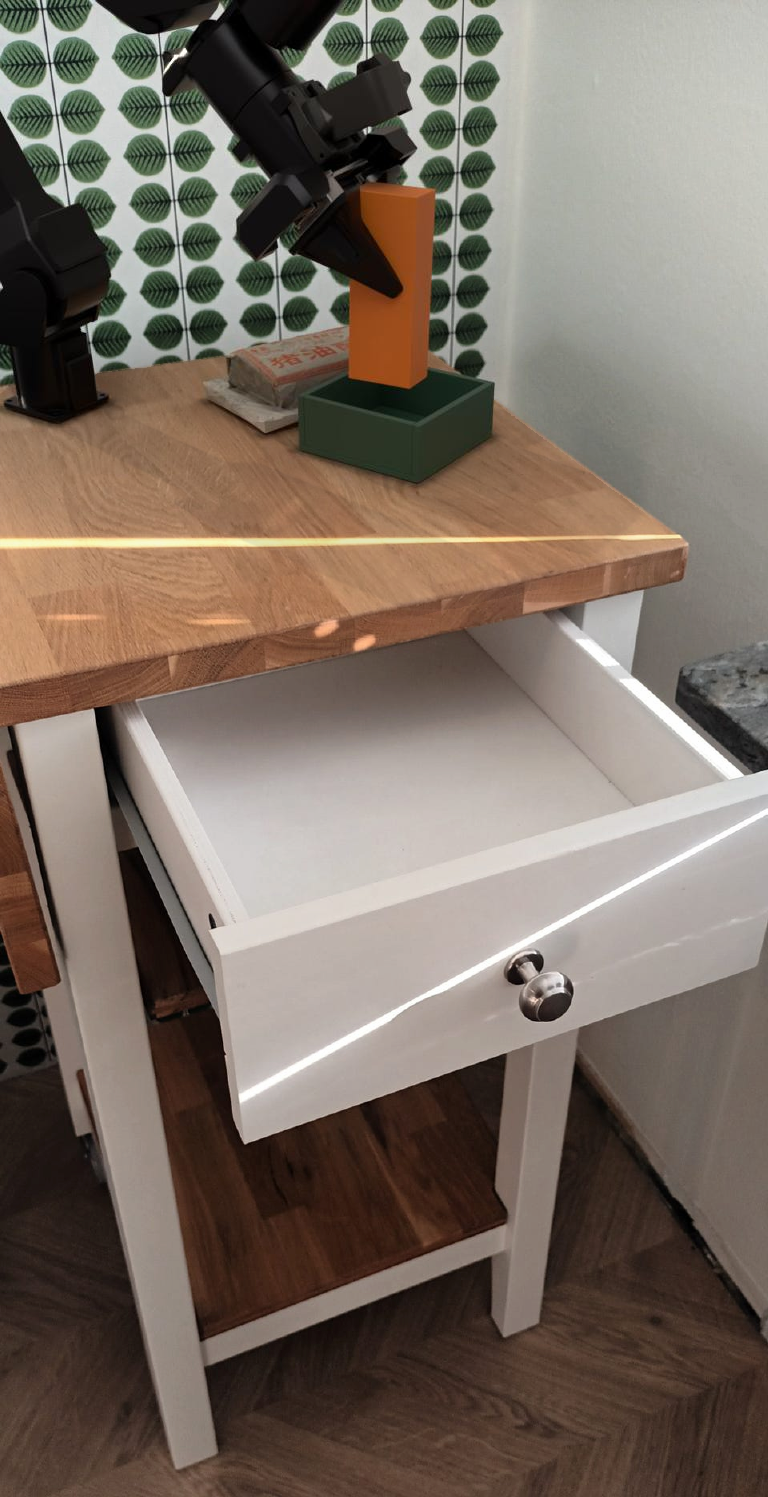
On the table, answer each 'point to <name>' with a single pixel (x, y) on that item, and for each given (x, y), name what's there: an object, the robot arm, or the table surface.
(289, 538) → the table surface
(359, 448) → the green square open box
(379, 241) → the tall orange pillar
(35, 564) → the table surface
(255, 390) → the packaged product
